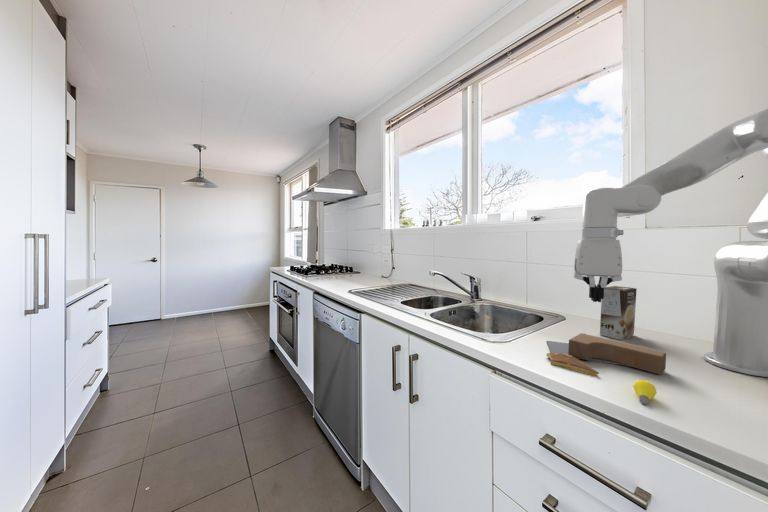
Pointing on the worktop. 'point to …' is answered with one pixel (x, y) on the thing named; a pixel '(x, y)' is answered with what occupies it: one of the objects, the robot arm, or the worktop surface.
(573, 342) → the wooden block
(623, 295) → the coffee box
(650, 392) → the light bulb
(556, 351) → the mat
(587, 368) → the sandwich
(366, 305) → the worktop surface
